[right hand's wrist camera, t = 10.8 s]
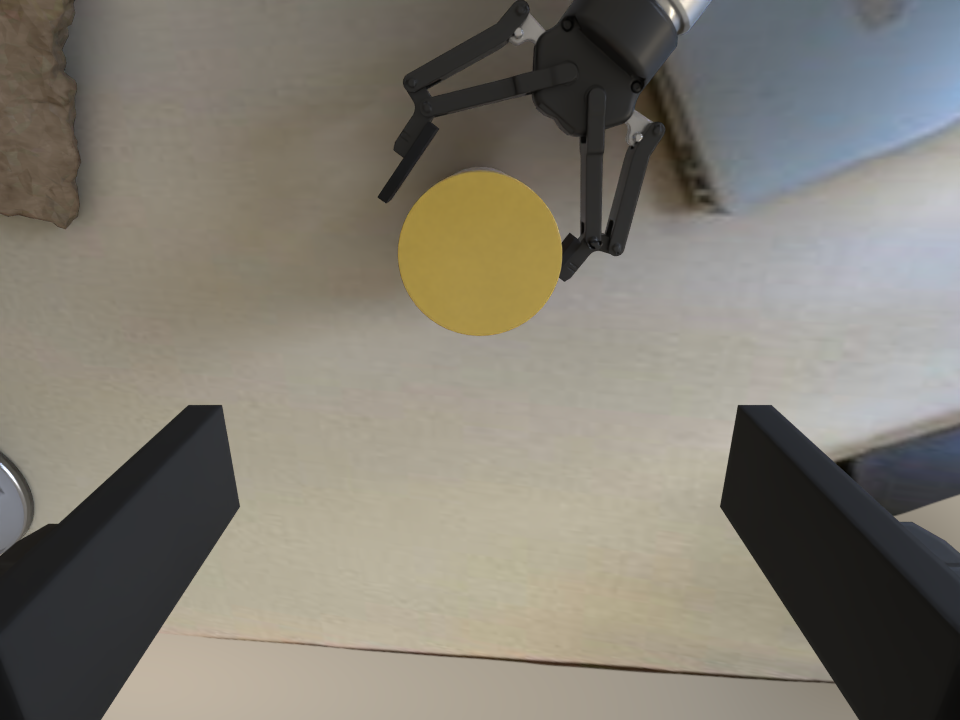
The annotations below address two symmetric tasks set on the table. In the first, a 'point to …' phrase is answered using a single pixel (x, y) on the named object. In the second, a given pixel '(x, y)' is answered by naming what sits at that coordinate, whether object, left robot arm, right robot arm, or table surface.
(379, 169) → the table surface
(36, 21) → the stone
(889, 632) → the right robot arm
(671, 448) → the table surface
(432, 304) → the lid
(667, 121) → the table surface
